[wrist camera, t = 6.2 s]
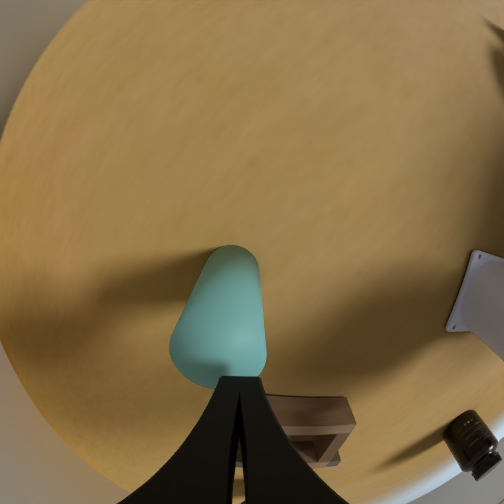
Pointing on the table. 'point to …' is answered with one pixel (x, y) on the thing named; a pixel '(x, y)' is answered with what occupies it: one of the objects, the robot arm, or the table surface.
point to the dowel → (222, 321)
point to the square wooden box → (314, 425)
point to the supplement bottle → (472, 444)
